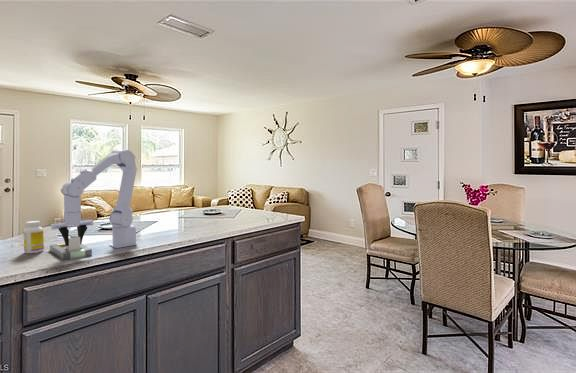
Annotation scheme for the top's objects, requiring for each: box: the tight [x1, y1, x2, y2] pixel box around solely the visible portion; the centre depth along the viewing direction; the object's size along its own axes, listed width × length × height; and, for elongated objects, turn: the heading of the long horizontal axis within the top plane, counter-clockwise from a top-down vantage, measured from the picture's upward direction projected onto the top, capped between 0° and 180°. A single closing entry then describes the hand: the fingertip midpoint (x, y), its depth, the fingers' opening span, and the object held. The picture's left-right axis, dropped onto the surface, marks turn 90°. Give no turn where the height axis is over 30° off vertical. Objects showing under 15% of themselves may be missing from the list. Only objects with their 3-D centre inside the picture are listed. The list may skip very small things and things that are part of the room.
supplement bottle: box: [22, 220, 45, 254], centre depth 140 cm, size 7×7×13 cm
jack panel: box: [49, 242, 93, 261], centre depth 139 cm, size 10×20×2 cm, turn 48°
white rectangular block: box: [66, 234, 80, 251], centre depth 136 cm, size 4×4×8 cm
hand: (73, 244), depth 136 cm, fingers closed on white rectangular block, 4 cm apart
